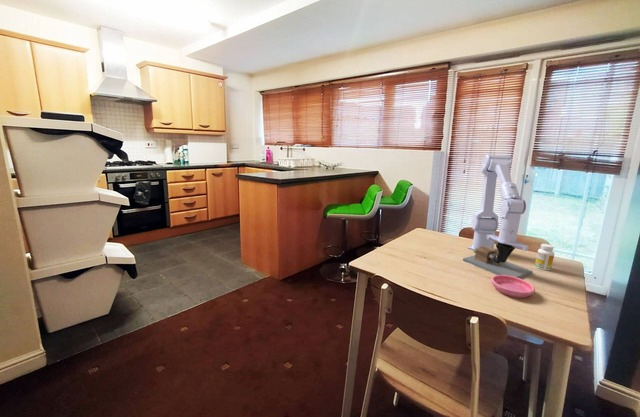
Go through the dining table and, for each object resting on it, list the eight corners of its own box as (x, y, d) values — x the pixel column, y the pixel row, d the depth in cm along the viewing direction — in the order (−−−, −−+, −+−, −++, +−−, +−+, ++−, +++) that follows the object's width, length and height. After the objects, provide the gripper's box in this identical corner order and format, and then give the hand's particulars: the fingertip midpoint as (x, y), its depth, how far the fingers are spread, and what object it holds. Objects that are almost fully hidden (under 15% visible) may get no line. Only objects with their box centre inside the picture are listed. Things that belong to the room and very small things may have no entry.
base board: (482, 255, 129) (483, 253, 129) (532, 273, 112) (532, 271, 112) (462, 260, 122) (463, 258, 122) (512, 280, 105) (512, 278, 105)
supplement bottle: (548, 266, 119) (553, 244, 117) (552, 271, 114) (558, 248, 112) (533, 264, 121) (537, 242, 119) (536, 269, 116) (541, 246, 114)
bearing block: (483, 256, 125) (485, 245, 124) (494, 260, 121) (496, 249, 119) (474, 258, 122) (476, 248, 121) (485, 263, 118) (487, 252, 117)
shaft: (477, 253, 126) (478, 245, 125) (501, 262, 117) (502, 254, 116) (471, 254, 124) (473, 247, 123) (496, 264, 115) (497, 255, 114)
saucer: (517, 304, 90) (519, 295, 90) (481, 285, 101) (483, 277, 101) (541, 296, 95) (543, 288, 94) (505, 280, 106) (506, 272, 106)
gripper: (484, 225, 116) (479, 256, 119) (523, 236, 104) (516, 271, 107) (494, 223, 119) (489, 254, 122) (533, 233, 107) (526, 267, 110)
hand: (502, 261), depth 115 cm, fingers closed
